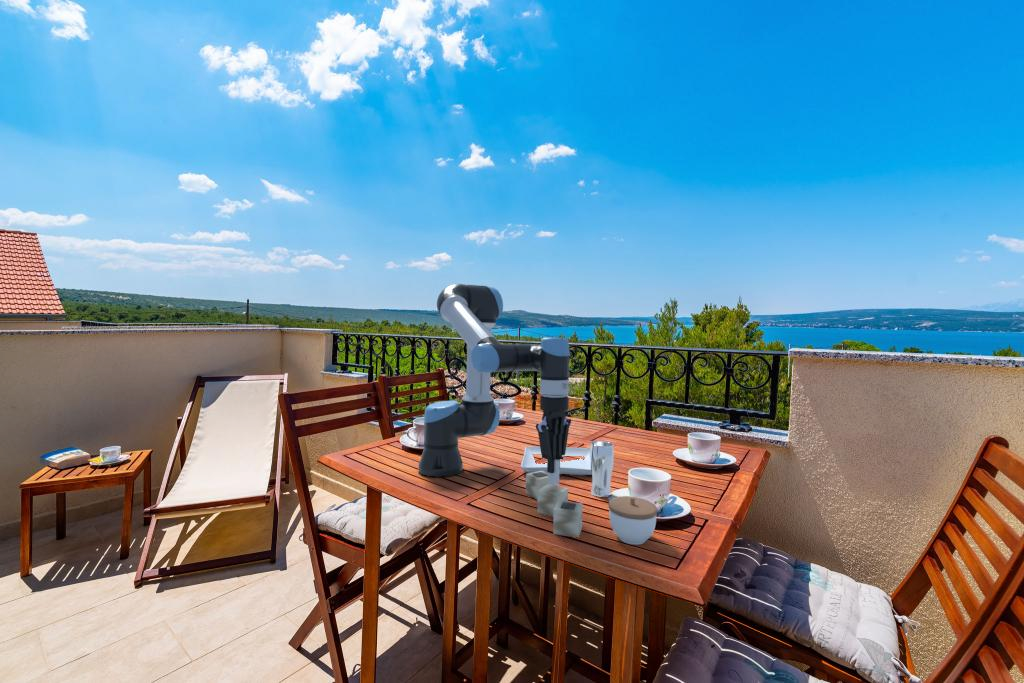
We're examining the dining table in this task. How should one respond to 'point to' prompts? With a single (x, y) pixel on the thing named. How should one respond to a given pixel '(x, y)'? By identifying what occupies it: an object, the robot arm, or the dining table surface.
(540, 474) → the marked block
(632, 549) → the dining table surface
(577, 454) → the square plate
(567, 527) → the marked block
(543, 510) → the plain block
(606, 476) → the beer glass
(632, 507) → the lidded jar
